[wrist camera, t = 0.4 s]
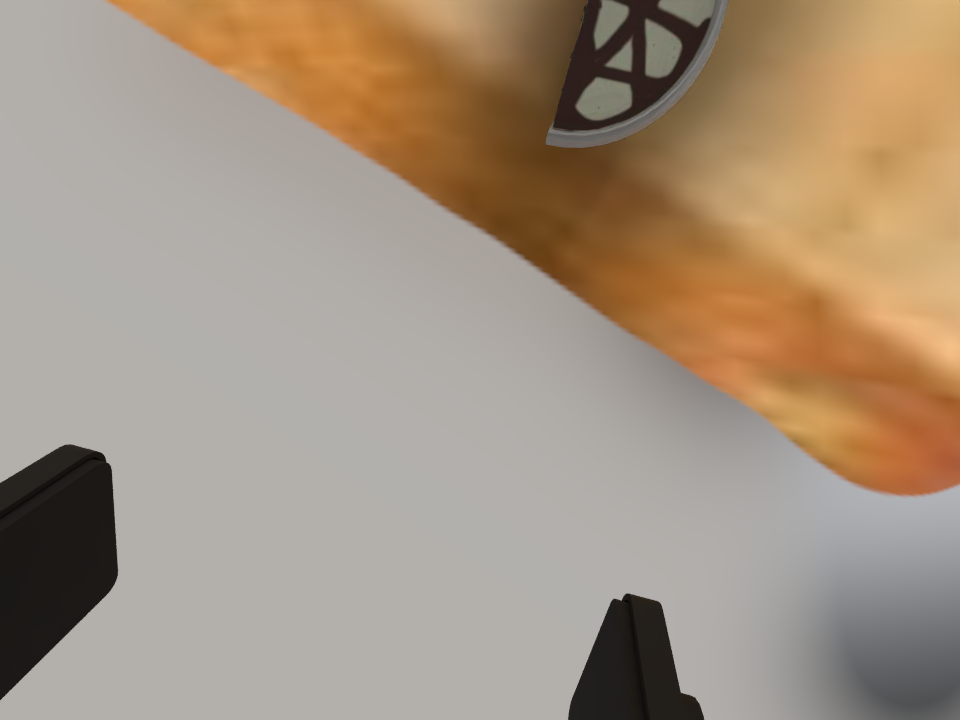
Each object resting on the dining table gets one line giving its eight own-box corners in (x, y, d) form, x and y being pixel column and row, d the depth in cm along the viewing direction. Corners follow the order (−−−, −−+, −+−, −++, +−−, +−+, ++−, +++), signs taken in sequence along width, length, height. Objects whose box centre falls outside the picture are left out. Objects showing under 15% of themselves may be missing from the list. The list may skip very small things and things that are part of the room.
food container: (644, 170, 34) (675, 179, 25) (548, 144, 34) (544, 144, 25) (726, -67, 30) (801, -162, 20) (615, -95, 30) (638, -202, 21)
